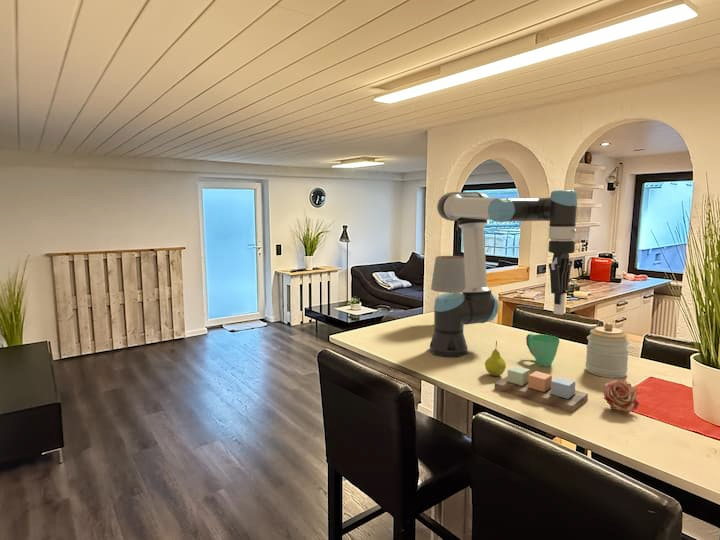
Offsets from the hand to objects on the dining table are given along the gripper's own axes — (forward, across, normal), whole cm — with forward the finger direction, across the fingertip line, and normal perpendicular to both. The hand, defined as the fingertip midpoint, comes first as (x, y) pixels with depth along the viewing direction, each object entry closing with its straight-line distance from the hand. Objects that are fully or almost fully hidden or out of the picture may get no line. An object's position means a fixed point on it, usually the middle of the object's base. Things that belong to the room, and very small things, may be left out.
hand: (558, 313), depth 142 cm
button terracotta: (+22, -11, 0) cm, 24 cm away
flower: (+24, -6, -21) cm, 32 cm away
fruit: (+24, -6, +18) cm, 31 cm away
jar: (+24, +24, -8) cm, 35 cm away
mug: (+24, +18, +13) cm, 33 cm away
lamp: (+23, +42, +70) cm, 85 cm away
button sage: (+22, -11, +7) cm, 25 cm away
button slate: (+22, -11, -7) cm, 25 cm away
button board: (+24, -11, 0) cm, 26 cm away
